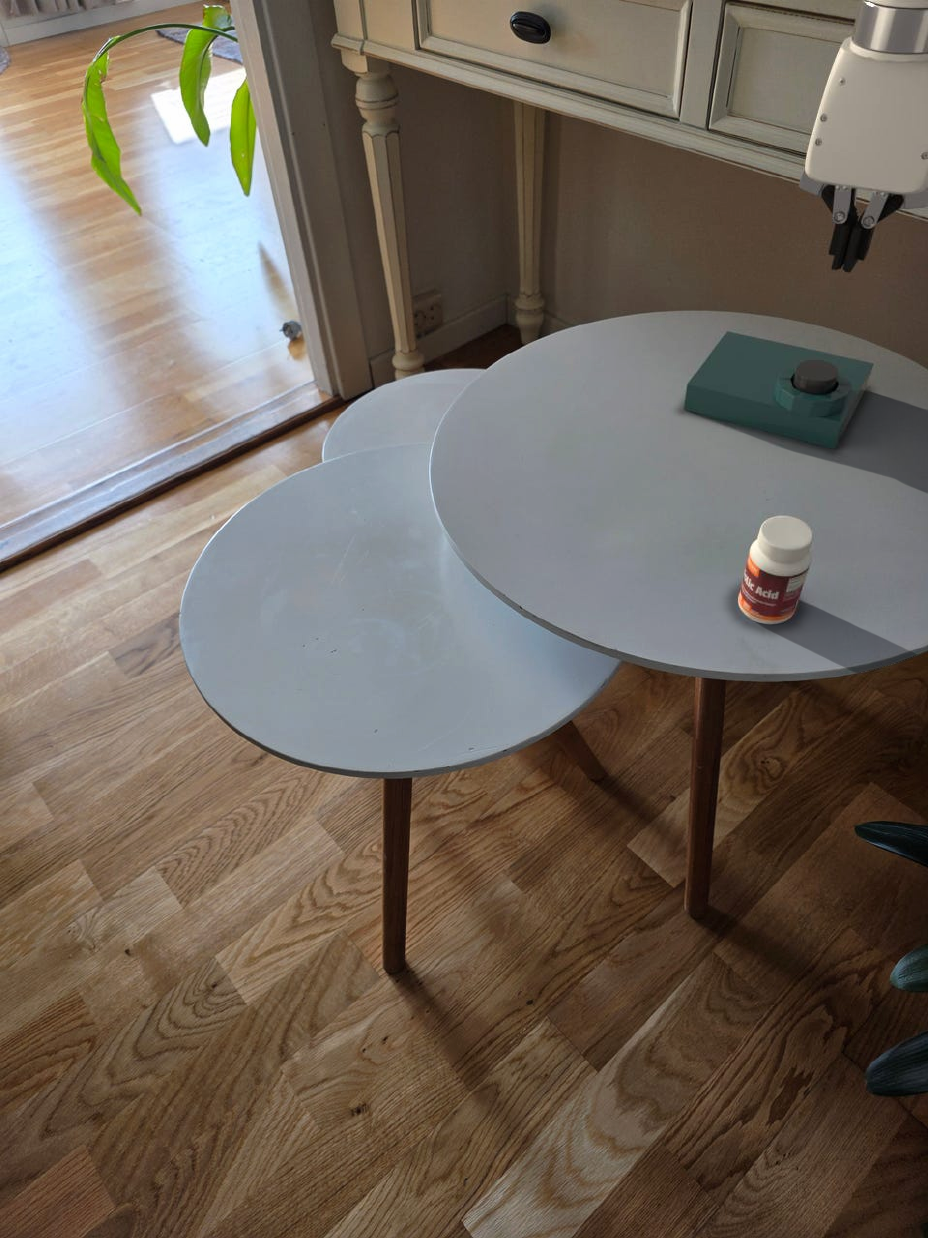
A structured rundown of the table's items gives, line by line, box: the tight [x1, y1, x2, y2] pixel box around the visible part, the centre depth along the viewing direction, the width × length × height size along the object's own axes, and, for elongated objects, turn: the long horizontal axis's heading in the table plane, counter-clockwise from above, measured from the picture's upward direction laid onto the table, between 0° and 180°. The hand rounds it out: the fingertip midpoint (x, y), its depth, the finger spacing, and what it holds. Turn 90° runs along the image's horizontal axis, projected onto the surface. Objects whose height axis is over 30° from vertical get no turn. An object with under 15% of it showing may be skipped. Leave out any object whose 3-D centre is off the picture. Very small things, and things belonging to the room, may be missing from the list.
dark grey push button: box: [793, 360, 839, 395], centre depth 87 cm, size 4×4×2 cm
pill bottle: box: [737, 515, 814, 625], centre depth 71 cm, size 5×5×8 cm
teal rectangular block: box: [683, 330, 875, 450], centre depth 92 cm, size 16×12×5 cm
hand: (845, 264), depth 78 cm, fingers closed
